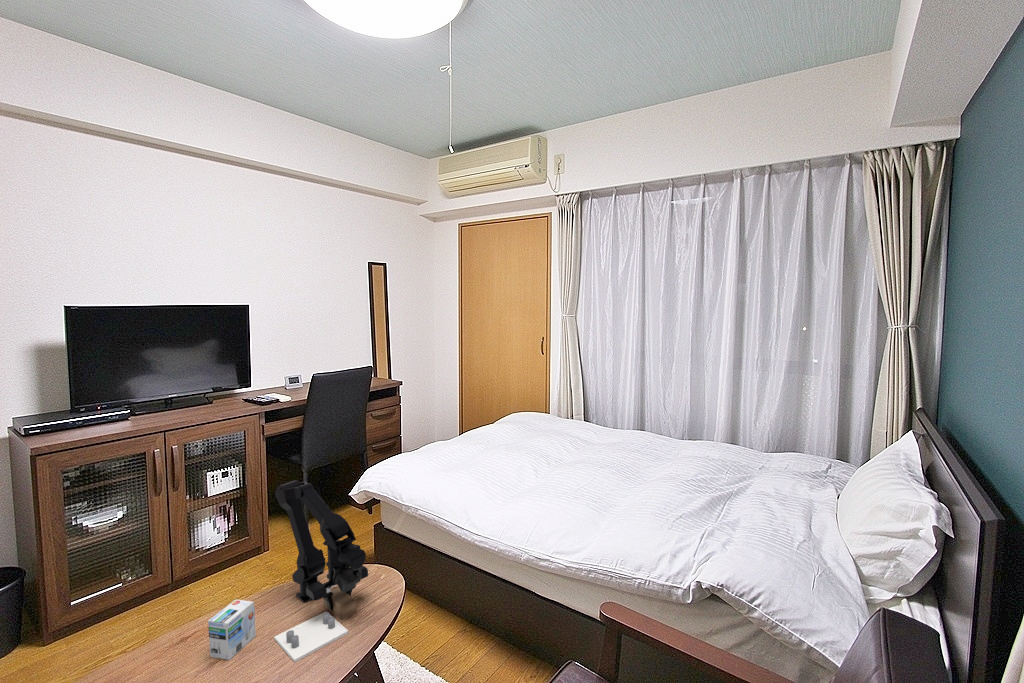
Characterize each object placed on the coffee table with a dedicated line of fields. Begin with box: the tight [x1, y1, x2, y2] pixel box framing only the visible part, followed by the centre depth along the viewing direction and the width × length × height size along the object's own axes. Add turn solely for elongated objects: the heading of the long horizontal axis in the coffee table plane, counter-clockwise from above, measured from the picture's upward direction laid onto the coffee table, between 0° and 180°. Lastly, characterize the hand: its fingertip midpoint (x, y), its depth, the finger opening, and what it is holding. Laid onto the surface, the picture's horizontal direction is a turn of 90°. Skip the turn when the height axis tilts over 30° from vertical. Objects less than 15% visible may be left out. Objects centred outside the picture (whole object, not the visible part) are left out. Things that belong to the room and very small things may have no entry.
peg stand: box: [273, 611, 349, 663], centre depth 144 cm, size 14×16×3 cm
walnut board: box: [322, 585, 357, 622], centre depth 156 cm, size 12×5×4 cm, turn 48°
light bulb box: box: [207, 598, 257, 661], centre depth 140 cm, size 11×7×11 cm, turn 168°
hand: (339, 606), depth 157 cm, fingers closed on walnut board, 5 cm apart
